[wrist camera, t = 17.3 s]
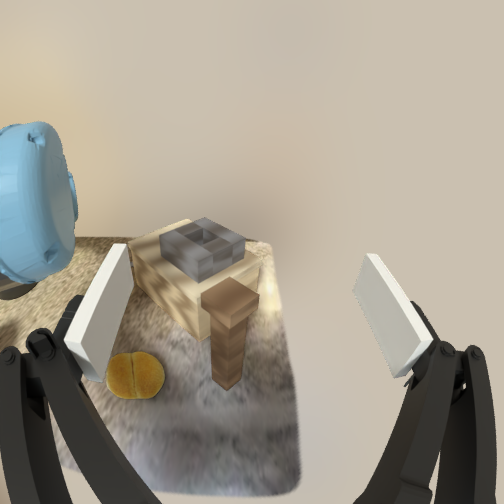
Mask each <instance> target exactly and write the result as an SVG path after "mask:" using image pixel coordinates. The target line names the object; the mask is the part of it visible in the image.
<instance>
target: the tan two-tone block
mask: <svg viewBox="0 0 504 504" xmlns="http://www.w3.org/2000/svg"><path fill="white" fill-rule="evenodd" d="M245 239H246V238H245V237H243V236H241V235H239V234H237V233H235V232H233V231H231V230H229V229H227V228H225V227H223V226H221V225H219V224H217V223H215V222H213V221H211V220H209V219H207V218H205V217H204V218H202V219H199V220H196V221H194V222H193V221H191V220H189V219H185V220H182V221H180V222H177V223H174V224H172V225H169V226H167V227H164V228H161V229H159V230H156V231H153V232H151V233H148V234H146V235H143V236H141V237H138V238H136V239H133V240H131V241H128V247H129V248H130V249H131V254H132V260H133V266H134V271H135V277H136V282H137V285H138V286H139V287H140V288H141V289H142V290H143V291H144V292H145V293H146V294H147V295H148V296H149V297H150V298H151V299H152V300H153V301H154V302H155V303H156V304H158V305H159V306H160V307H161V308H162V309H163V310H164V311H165V312H166V313H167V314H168V315H169V316H170V317H172V318H173V319H174V320H175V321H176V322H177V323H178V324H179V325H180V326H182V327H183V328H184V329H185V330H186V331H187V332H188V333H190V334H191V335H192V336H193V337H194V338H195V339H197V340H198V341H199V342H201V341H203V340H204V339H205V338H207V337H208V336H210V335H211V331H210V314H209V313H208V312H207V311H205V310H204V309H203V308H201V293H202V292H204V291H206V290H207V289H209V288H211V287H212V286H214V285H216V284H218V283H219V282H221V281H223V280H224V279H226V278H228V277H231V278H233V279H235V280H236V281H238V282H239V283H241V284H243V285H244V286H246V287H248V288H249V289H251V290H252V291H254V292H256V291H257V283H258V275H259V267H260V266H261V265H262V263H263V259H262V258H260V257H258V256H256V255H254V254H252V253H251V252H249V251H247V250H245Z"/></svg>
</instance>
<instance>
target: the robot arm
mask: <svg viewBox="0 0 504 504" xmlns="http://www.w3.org/2000/svg"><path fill="white" fill-rule="evenodd" d="M77 219H78V205H77V197H76V190H75V184H74V180H73V176H72V174H71V173H70V172H68V169H67V164H66V160H65V156H64V155H63V149H62V144H61V141H60V138H59V136H58V134H57V132H56V131H55V129H54V128H53V127H52V126H51V125H49V124H47V123H45V122H33V123H27V124H13V125H10V126H7V127H4V128H3V129H1V130H0V299H3V300H10V299H15V298H17V297H20V296H22V295H24V294H25V293H27V292H28V291H30V290H31V289H32V288H33V287H34V286H35V285H36V284H37V282H39V281H42V280H43V279H45V278H46V277H48V276H49V275H51V274H54V273H56V272H59V271H61V270H63V269H64V268H65V267H66V266H67V265H68V264H69V263H70V261H71V259H72V257H73V254H74V249H75V235H74V229H75V222H76V220H77ZM133 287H134V281H133V276H132V271H131V265H130V260H129V254H128V248H127V244H113V246H112V248H111V249H110V251H109V253H108V254H107V256H106V258H105V260H104V261H103V263H102V265H101V266H100V268H99V270H98V272H97V274H96V275H95V277H94V279H93V281H92V283H91V285H90V287H89V288H88V290H87V292H86V294H85V296H83V295H76V296H75V297H74V298H73V299H72V300H71V301H69V303H68V305H67V307H66V309H65V312H64V313H63V315H62V318H60V320H59V322H58V324H57V326H56V329H55V331H54V333H53V334H52V333H51V331H50V330H48V329H47V328H39V329H36V330H34V331H33V332H31V333H30V335H29V336H28V337H27V340H26V348H27V349H28V351H29V352H30V353H24V354H21V353H20V351H19V350H18V348H16V347H14V346H9V347H7V348H5V349H4V350H3V351H2V352H1V353H0V452H1V459H2V465H3V470H4V475H5V480H6V485H7V489H8V493H9V497H10V501H11V504H73V503H72V500H71V498H70V495H69V492H68V489H67V486H66V483H65V480H64V476H63V473H62V469H61V465H60V462H59V458H58V454H57V450H56V445H55V441H54V436H53V431H52V425H51V419H50V413H49V406H48V402H49V405H50V407H51V410H52V412H53V415H54V417H55V420H56V422H57V424H58V426H59V429H60V431H61V433H62V435H63V437H64V440H65V442H66V444H67V446H68V448H69V450H70V452H71V454H72V456H73V457H74V459H75V461H76V463H77V465H78V467H79V468H80V470H81V472H82V474H83V475H84V477H85V479H86V480H87V482H88V484H89V485H90V487H91V488H92V490H93V491H94V493H95V495H96V496H97V498H98V499H99V500H100V502H101V503H102V504H162V503H161V502H160V501H159V500H158V498H157V497H156V496H155V495H154V494H153V492H152V491H151V490H150V489H149V488H148V486H147V485H146V484H145V483H144V481H143V480H142V479H141V477H140V476H139V475H138V474H137V472H136V471H135V470H134V468H133V467H132V465H131V464H130V463H129V461H128V460H127V458H126V457H125V456H124V454H123V453H122V451H121V450H120V448H119V447H118V445H117V444H116V442H115V440H114V439H113V437H112V436H111V434H110V432H109V431H108V429H107V428H106V426H105V424H104V422H103V421H102V419H101V417H100V415H99V414H98V412H97V410H96V408H95V406H94V405H93V403H92V401H91V399H90V397H89V395H88V393H87V391H86V389H85V387H84V385H83V383H82V382H81V377H82V374H84V375H85V377H86V379H87V380H90V381H95V382H100V383H103V379H104V376H105V372H106V369H107V365H108V362H109V358H110V355H111V352H112V348H113V345H114V342H115V339H116V335H117V332H118V329H119V326H120V323H121V320H122V317H123V314H124V312H125V309H126V306H127V303H128V300H129V298H130V295H131V292H132V289H133ZM353 293H354V294H355V296H356V298H357V300H358V302H359V304H360V306H361V308H362V310H363V312H364V314H365V316H366V318H367V321H368V323H369V325H370V327H371V329H372V331H373V333H374V335H375V337H376V340H377V342H378V344H379V346H380V348H381V351H382V353H383V355H384V357H385V360H386V362H387V364H388V366H389V369H390V371H391V373H392V376H393V378H398V377H402V376H406V374H407V373H408V372H409V371H410V370H411V368H412V370H413V372H414V374H413V375H412V376H411V378H410V379H409V380H408V381H407V382H406V383H405V385H404V387H406V386H407V385H408V384H409V386H408V389H407V392H406V395H405V398H404V401H403V404H402V407H401V410H400V413H399V416H398V418H397V421H396V424H395V426H394V429H393V431H392V434H391V436H390V439H389V441H388V444H387V446H386V448H385V451H384V453H383V455H382V457H381V460H380V462H379V464H378V466H377V468H376V470H375V472H374V474H373V476H372V478H371V480H370V482H369V484H368V485H367V488H366V489H365V491H364V492H363V493H362V494H361V495H360V496H359V497H358V498H357V499H356V500H355V502H354V503H353V504H430V502H431V499H432V495H433V494H432V491H431V490H430V489H429V483H430V480H431V477H432V474H433V471H434V468H435V465H436V462H437V459H438V455H439V452H440V462H439V472H438V480H437V487H436V494H435V500H434V504H496V498H495V489H496V469H497V468H496V467H497V449H496V429H495V416H494V408H493V399H492V393H491V386H490V380H489V375H488V370H487V365H486V360H485V356H484V354H483V352H482V350H481V349H480V348H479V347H477V346H475V345H470V346H468V348H467V349H466V350H465V352H463V351H456V350H455V348H454V347H453V346H452V345H451V344H450V343H448V342H446V341H441V340H440V339H439V337H438V335H437V334H436V332H435V330H434V329H433V327H432V326H431V324H430V323H429V321H428V319H427V318H426V316H424V313H423V311H422V310H421V308H420V307H419V306H418V305H416V303H414V302H413V301H409V299H408V298H407V296H406V295H405V293H404V292H403V290H402V289H401V287H400V286H399V284H398V283H397V281H396V280H395V279H394V277H393V276H392V274H391V273H390V271H389V270H388V269H387V267H386V266H385V264H384V263H383V262H382V260H381V259H380V257H379V256H378V255H377V254H366V255H365V258H364V261H363V264H362V266H361V269H360V272H359V275H358V277H357V280H356V283H355V285H354V288H353ZM465 383H466V388H465V389H463V384H465ZM440 448H441V449H440Z"/></svg>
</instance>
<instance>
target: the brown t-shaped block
mask: <svg viewBox="0 0 504 504" xmlns="http://www.w3.org/2000/svg"><path fill="white" fill-rule="evenodd" d="M258 303H259V294H257V293H256V292H254V291H252V290H251V289H249V288H248V287H246V286H244V285H243V284H241V283H239V282H238V281H236V280H235V279H233V278H231V277H228V278H226V279H224V280H223V281H221V282H219V283H218V284H216V285H214V286H212V287H211V288H209V289H207V290H206V291H204V292H202V293H201V308H203V309H204V310H205V311H207V312H208V313H209V314H210V331H211V364H212V379H213V380H214V381H215V382H216V383H218V384H219V385H220V386H221V387H222V388H224V389H225V390H226V391H227V390H229V389H230V388H231V387H232V386H233V385H235V384H236V383H237V382H238V381H239V380H240V379H241V373H242V364H243V355H244V346H245V337H246V328H247V320H248V315H250V314H251V313H252V312H254V311H255V310H256V309H258Z"/></svg>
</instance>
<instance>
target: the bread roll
mask: <svg viewBox="0 0 504 504" xmlns="http://www.w3.org/2000/svg"><path fill="white" fill-rule="evenodd" d="M164 380H165V374H164V369H163V367H162V365H161V363H160V362H159V361H158V360H157V359H156V358H155V357H154V356H152V355H150V354H148V353H146V352H141V351H138V352H133V353H120V354H117V355H115V356H114V357H113V358H111V360H110V362H109V364H108V367H107V374H106V384H107V387H108V389H109V390H111V391H112V392H113V394H115V395H116V396H118V397H120V398H124V399H139V398H141V399H148V398H152V397H154V396H155V395H156V394H157V393H158V391H159V390H160V389H161V387H162V385H163V383H164Z"/></svg>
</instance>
